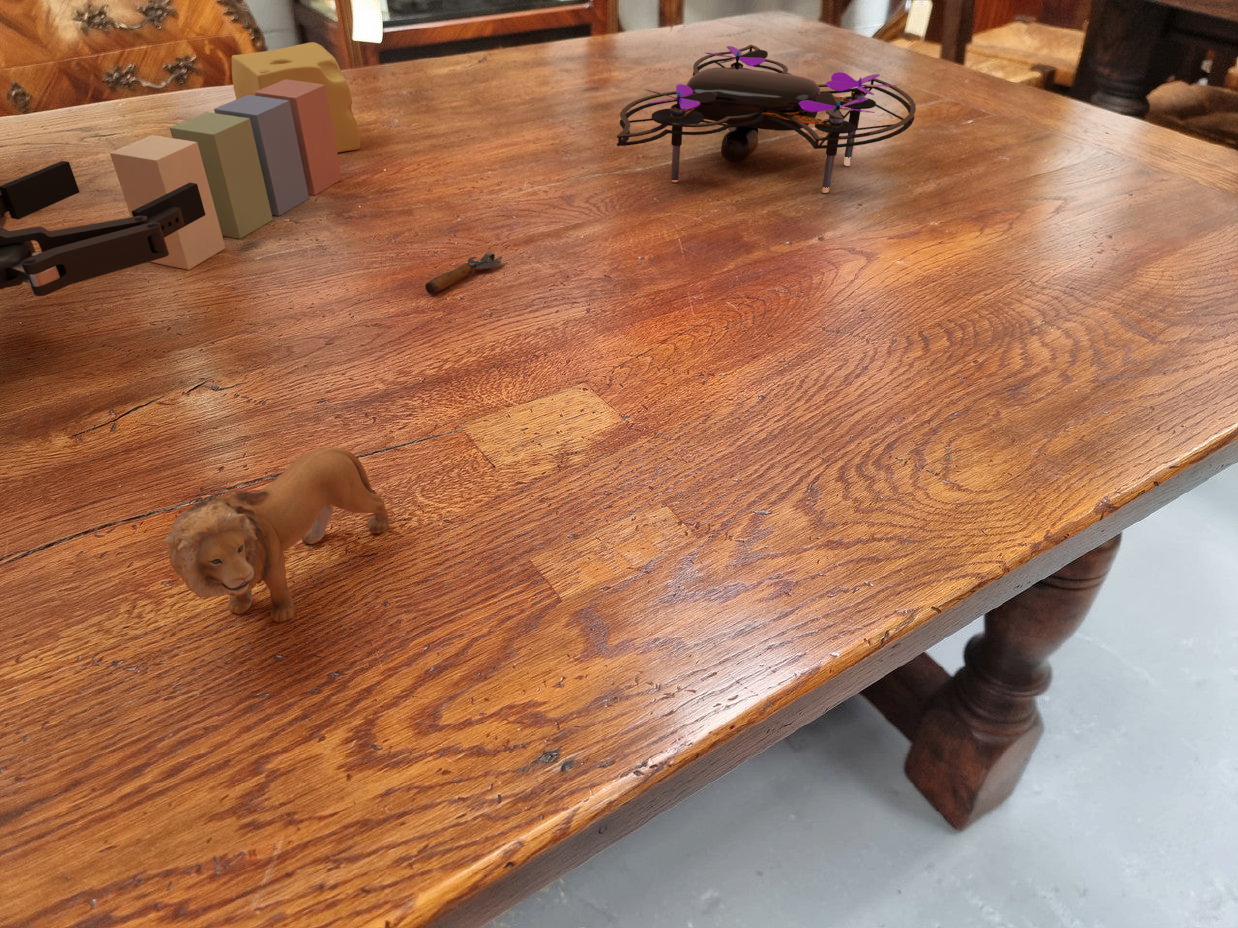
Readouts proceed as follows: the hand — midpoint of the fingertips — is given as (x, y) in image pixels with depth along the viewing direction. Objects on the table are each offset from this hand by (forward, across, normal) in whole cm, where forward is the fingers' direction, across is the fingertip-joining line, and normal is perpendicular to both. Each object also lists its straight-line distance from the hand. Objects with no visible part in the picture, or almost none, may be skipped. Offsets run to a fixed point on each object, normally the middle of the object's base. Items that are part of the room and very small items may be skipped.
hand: (133, 187), depth 79 cm
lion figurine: (-29, +36, -8) cm, 47 cm away
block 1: (+3, 0, -8) cm, 8 cm away
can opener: (+8, +27, -8) cm, 29 cm away
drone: (+46, +46, -8) cm, 66 cm away
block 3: (+16, 0, -8) cm, 18 cm away
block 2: (+10, 0, -8) cm, 13 cm away
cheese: (+32, -8, -8) cm, 34 cm away
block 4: (+22, 0, -8) cm, 24 cm away
